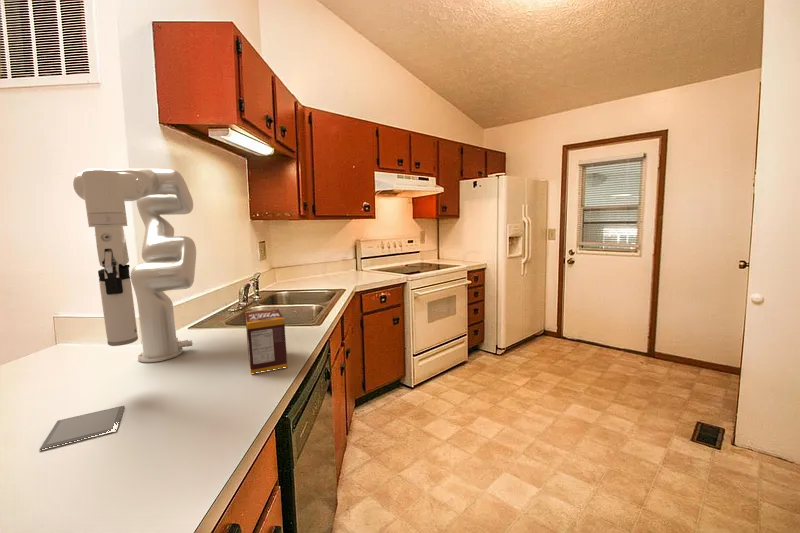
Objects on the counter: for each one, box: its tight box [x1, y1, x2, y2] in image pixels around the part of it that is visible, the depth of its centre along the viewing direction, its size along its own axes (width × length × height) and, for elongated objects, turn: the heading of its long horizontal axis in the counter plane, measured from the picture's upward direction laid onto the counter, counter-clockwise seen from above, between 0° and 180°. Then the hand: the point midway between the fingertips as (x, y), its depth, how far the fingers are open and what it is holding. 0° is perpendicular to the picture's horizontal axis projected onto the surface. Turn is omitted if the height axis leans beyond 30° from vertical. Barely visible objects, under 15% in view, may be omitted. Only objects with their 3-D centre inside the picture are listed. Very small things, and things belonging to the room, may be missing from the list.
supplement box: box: [245, 308, 288, 374], centre depth 111 cm, size 10×15×16 cm
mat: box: [39, 405, 125, 451], centre depth 78 cm, size 12×12×1 cm
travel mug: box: [97, 264, 139, 347], centre depth 91 cm, size 6×7×20 cm
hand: (117, 290), depth 91 cm, fingers closed on travel mug, 6 cm apart
